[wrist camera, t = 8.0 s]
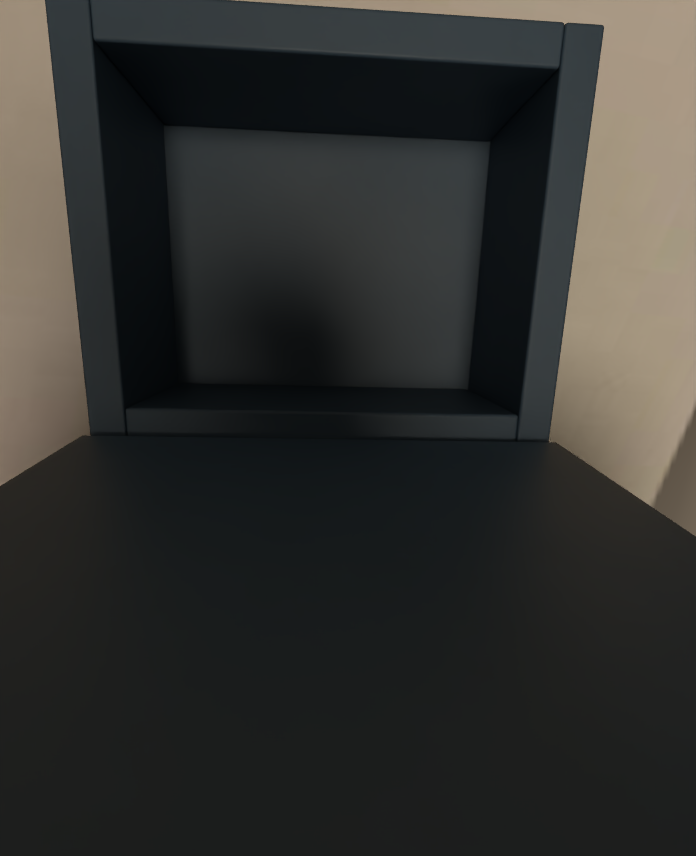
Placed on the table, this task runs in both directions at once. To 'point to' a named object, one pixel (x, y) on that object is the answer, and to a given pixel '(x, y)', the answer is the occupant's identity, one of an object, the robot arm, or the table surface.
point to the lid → (342, 653)
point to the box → (320, 216)
